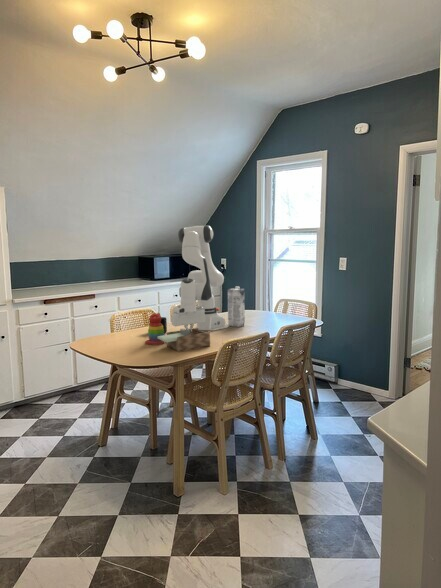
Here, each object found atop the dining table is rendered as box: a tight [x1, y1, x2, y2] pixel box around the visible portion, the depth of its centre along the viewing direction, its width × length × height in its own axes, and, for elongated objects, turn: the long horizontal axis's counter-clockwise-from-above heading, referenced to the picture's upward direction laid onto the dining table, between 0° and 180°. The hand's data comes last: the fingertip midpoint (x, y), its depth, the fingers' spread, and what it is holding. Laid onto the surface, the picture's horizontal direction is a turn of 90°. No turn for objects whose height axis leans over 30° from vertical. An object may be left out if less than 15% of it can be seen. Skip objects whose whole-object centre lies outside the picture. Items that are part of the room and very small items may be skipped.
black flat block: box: [149, 316, 168, 334], centre depth 280 cm, size 4×10×10 cm, turn 78°
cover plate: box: [157, 328, 190, 343], centre depth 241 cm, size 17×11×4 cm, turn 123°
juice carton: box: [227, 286, 246, 328], centre depth 297 cm, size 9×10×27 cm
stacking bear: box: [144, 312, 165, 346], centre depth 254 cm, size 11×10×18 cm
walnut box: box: [166, 327, 211, 353], centre depth 246 cm, size 20×14×8 cm
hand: (189, 331), depth 245 cm, fingers closed
